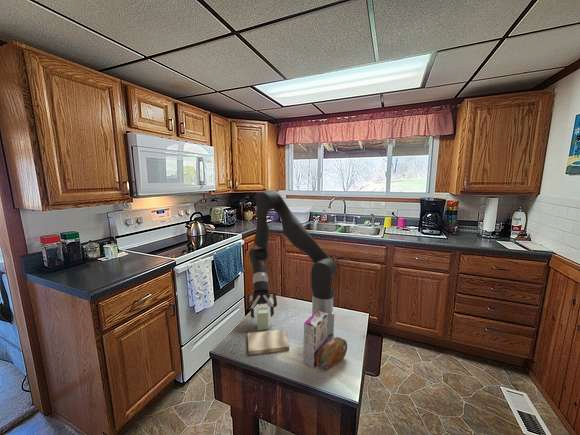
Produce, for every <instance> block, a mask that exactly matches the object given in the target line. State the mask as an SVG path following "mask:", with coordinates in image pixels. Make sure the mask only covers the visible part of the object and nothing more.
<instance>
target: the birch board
mask: <svg viewBox="0 0 580 435" xmlns="http://www.w3.org/2000/svg"><path fill="white" fill-rule="evenodd" d="M247 351H248V355H249V356H250V355H258V354H266V353H267V354H268V353H275V352H282V351H290V345H289V341H288V338H287V334H286V332H285V329H275V330H262V331H255V332H247Z"/></svg>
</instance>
